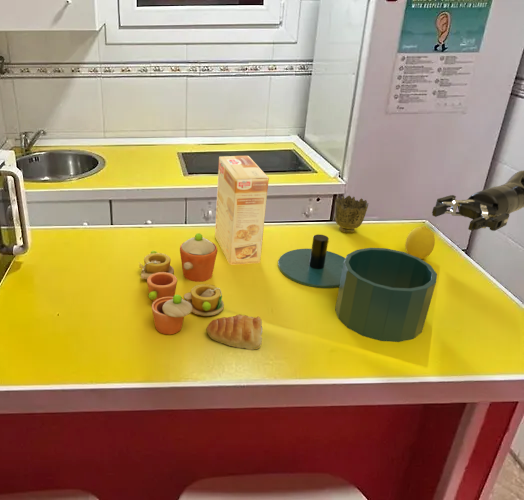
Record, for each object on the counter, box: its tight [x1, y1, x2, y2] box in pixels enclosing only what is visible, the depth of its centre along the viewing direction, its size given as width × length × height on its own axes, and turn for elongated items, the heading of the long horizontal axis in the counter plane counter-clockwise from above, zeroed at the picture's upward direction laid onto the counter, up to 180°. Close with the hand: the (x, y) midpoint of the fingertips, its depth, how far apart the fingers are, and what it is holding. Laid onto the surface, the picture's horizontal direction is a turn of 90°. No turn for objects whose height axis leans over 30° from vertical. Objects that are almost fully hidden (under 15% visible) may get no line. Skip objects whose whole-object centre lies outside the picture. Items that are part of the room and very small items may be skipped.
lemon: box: [404, 225, 436, 260], centre depth 110 cm, size 6×6×8 cm
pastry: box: [206, 314, 263, 350], centre depth 87 cm, size 9×7×4 cm
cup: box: [334, 195, 369, 235], centre depth 122 cm, size 8×7×8 cm
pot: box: [334, 247, 438, 343], centre depth 90 cm, size 15×15×10 cm
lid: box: [277, 234, 346, 289], centre depth 106 cm, size 16×16×8 cm
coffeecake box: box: [214, 155, 270, 266], centre depth 111 cm, size 15×7×20 cm, turn 8°
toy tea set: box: [138, 232, 225, 335], centre depth 96 cm, size 26×16×10 cm, turn 7°
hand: (452, 218), depth 114 cm, fingers open, 8 cm apart
